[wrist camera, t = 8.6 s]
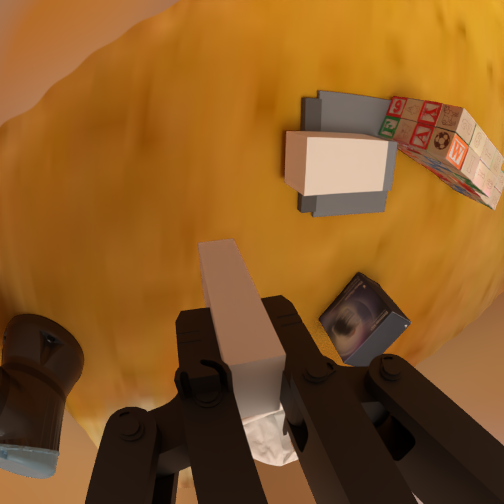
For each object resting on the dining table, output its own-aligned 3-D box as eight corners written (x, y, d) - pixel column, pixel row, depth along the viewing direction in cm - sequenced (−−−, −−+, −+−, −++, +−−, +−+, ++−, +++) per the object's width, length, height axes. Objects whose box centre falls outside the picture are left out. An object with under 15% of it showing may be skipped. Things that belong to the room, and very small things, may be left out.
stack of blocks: (467, 160, 40) (522, 184, 30) (454, 190, 42) (508, 220, 32) (392, 95, 32) (465, 107, 21) (376, 135, 34) (447, 159, 24)
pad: (297, 216, 38) (300, 220, 37) (301, 89, 30) (305, 89, 29) (382, 210, 41) (386, 213, 40) (393, 101, 33) (399, 102, 32)
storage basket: (193, 362, 47) (205, 439, 34) (279, 316, 46) (313, 391, 33) (259, 412, 60) (277, 469, 47) (324, 379, 58) (352, 434, 46)
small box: (357, 269, 45) (393, 310, 36) (379, 283, 48) (413, 322, 39) (316, 318, 48) (342, 364, 39) (340, 328, 51) (367, 370, 42)
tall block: (304, 196, 30) (391, 190, 33) (307, 137, 27) (397, 142, 30) (284, 182, 34) (366, 178, 37) (286, 131, 31) (371, 134, 34)
